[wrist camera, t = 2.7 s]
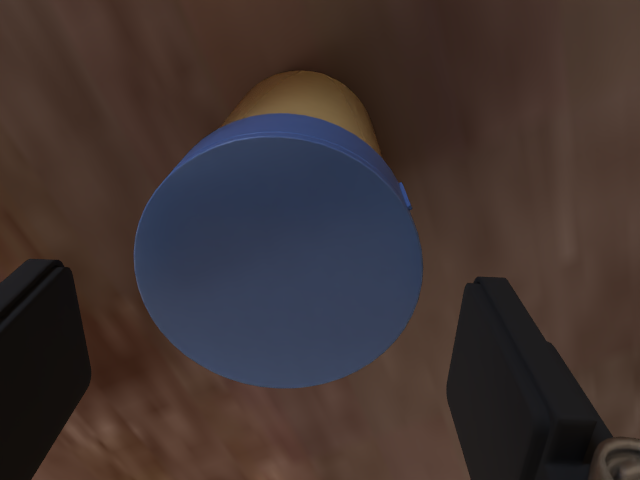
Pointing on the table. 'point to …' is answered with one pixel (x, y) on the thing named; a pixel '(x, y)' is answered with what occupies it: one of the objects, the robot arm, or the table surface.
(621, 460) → the robot arm
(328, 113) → the jar
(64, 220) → the table surface
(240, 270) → the lid
